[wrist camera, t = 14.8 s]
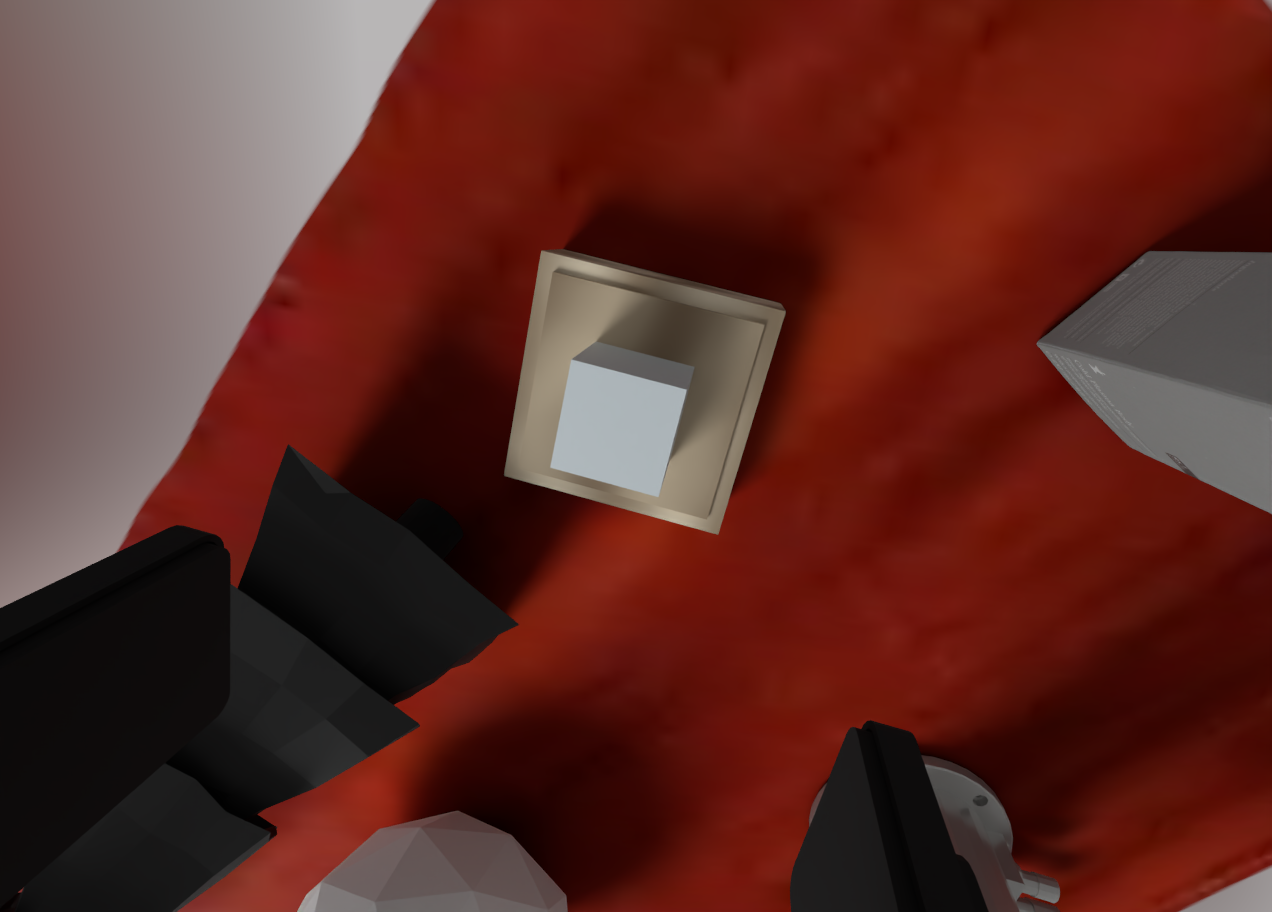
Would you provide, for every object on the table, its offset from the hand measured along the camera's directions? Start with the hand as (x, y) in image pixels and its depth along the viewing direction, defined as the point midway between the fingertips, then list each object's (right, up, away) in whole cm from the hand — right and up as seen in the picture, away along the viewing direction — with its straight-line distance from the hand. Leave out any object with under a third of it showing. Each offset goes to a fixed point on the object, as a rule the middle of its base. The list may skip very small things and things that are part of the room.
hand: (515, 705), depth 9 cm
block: (+2, +6, +23) cm, 24 cm away
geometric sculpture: (-10, -28, +41) cm, 51 cm away
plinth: (+2, +8, +27) cm, 28 cm away
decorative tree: (-15, -6, +35) cm, 38 cm away
